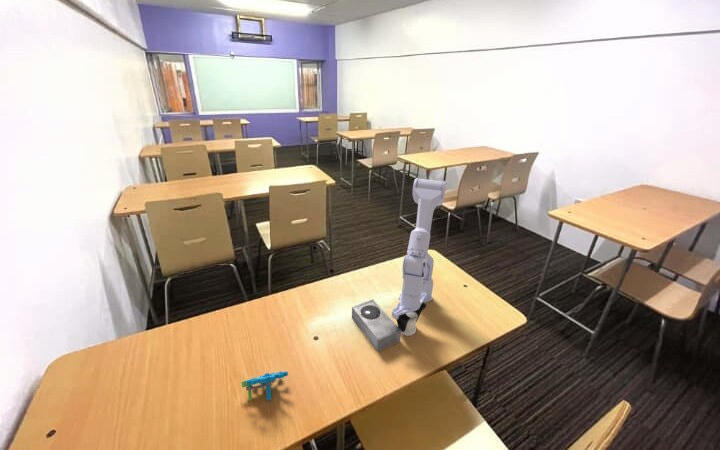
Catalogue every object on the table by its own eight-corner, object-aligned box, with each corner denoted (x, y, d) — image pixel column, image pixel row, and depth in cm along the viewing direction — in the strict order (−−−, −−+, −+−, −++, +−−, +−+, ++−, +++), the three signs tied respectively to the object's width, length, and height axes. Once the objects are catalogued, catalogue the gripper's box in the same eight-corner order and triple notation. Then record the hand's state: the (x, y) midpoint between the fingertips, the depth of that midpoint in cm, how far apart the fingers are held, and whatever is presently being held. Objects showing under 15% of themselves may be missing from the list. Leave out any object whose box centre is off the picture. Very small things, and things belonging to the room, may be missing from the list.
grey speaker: (372, 309, 104) (373, 299, 102) (400, 341, 91) (401, 330, 89) (351, 317, 100) (351, 306, 98) (377, 351, 87) (378, 340, 85)
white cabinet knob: (408, 320, 99) (410, 306, 97) (419, 331, 95) (421, 317, 92) (394, 326, 97) (396, 312, 94) (405, 338, 92) (407, 323, 90)
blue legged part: (290, 367, 80) (282, 372, 71) (293, 391, 78) (285, 400, 69) (249, 375, 79) (235, 381, 70) (250, 400, 77) (236, 410, 68)
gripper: (416, 275, 96) (411, 308, 102) (385, 294, 87) (382, 329, 93) (434, 285, 92) (429, 319, 97) (403, 306, 83) (399, 342, 89)
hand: (407, 325), depth 95 cm, fingers closed on white cabinet knob, 5 cm apart
